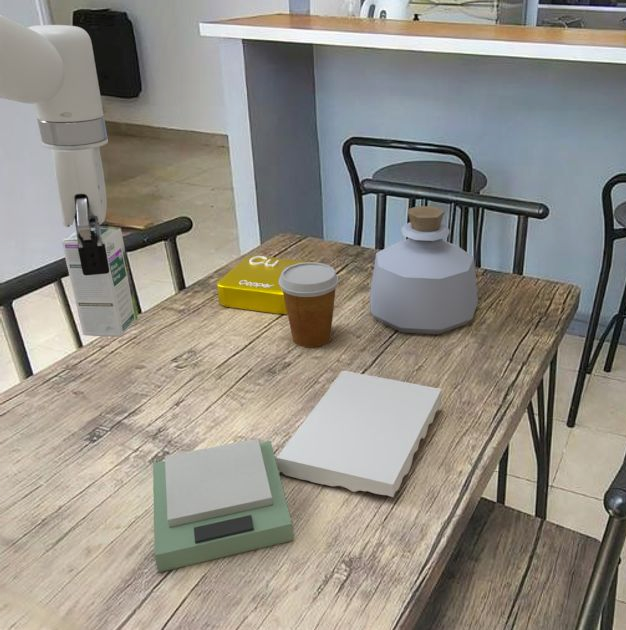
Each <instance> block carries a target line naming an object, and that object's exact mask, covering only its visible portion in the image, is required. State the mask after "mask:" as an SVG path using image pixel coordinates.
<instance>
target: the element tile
mask: <svg viewBox="0 0 626 630" xmlns="http://www.w3.org/2000/svg"><path fill="white" fill-rule="evenodd" d="M307 262H309V261H308V260H299V259H291V258H290V259H289V258H283V257H282V258H281V257H273V256H264V255H256V254H255V255H254V254H252V255H248V256H246V257H245V258H243V259H242V260H241V261H240V262H239V263H237V265H235V266H234V267H233V268H232V269H230V270H229V271H228V272H227V273H226V274H225V275H223V276H222V277H221V278H220V279H219V280H218V281H217V282H216V290H217V298H218V303H219V305H220V306H222V307H226V308H232V309H239V310H246V311H253V312H261V313H270V314H275V315H276V314H277V315H288V314H287V309H286V304H285V300H284V295H283V290H282V289H281V287H280V286H279V282H278V281H279V278H280V277H281V272H282V271H283V270H284V269H285V268H287V267H289V266H291V265H294V264H298V263H307Z"/></svg>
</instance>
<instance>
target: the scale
mask: <svg viewBox="0 0 626 630" xmlns="http://www.w3.org/2000/svg"><path fill="white" fill-rule="evenodd" d="M152 483H153V484H152V487H153V488H152V489H153V493H152V494H153V546H154V547H153V550H154V551H153V552H154V559H155V560H154V561H155V564H156V568H157V573H162V572H166V571H170V570H175V569H178V568H182V567H187V566H192V565H195V564H196V565H197V564H199V563H200V564H201V563H204V562H209V561H212V560H217V559H222V558H225V557H229V556H234V555H237V554H242V553H246V552H250V551H255V550H259V549H263V548H267V547H271V546H275V545H281V544H284V543H288V542H293V541H294V530H293V522H292V519H291V515H290V511H289V507H288V503H287V498H286V495H285V492H284V487H283V483H282V480H281V475H280V471H279V470H278V464H277V459H276V457H275V453H274V449H273V445H272V441H271V440H267V441H263V442H260V439H259V438H254V439H249V440H243V441H237V442H232V443H227V444H222V445H217V446H211V447H207V448H206V447H205V448H201V449H196V450H191V451H184V452H179V453H173V454H169V455H165V456H164V460H161V461H158V462H153V463H152Z"/></svg>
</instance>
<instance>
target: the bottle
mask: <svg viewBox="0 0 626 630" xmlns="http://www.w3.org/2000/svg"><path fill="white" fill-rule="evenodd" d="M445 212H446V210H443V209H441V208H439V207H436V206H434V205H433V206H432V205H430V206H428V205H421V206H420V205H416V206H413V207H410V208H408V211H407V216H408V218H409V222H407V223H405V224H404V225H403V226H402V227H401V228H400V230H401V236H402V237H406V238H407V239H403V240H400V241H397V242H395V243H392V244H390V245H389V246H387V247H385V248H383V249H381V250H379V251H377V252H375V258H374V265H373V272H372V276H371V277H372V278H371V284H370V289H369V290H370V291H369V295H368V296H369V304H370V311H371V315H372V316H373V318H375V319H376V320H377V321H378V322H379V323H382V324H384V325H385V326H388V327H390V328H392V329H394V330H396V331H398V332H400V333H402V334H421V335H441V334H444V333H447V332H449V331H452V330H455V329H457V328H460V327H463V326H466V325H467V324H469V322H471V321H472V320H473V317H474V315H475V312H476V309H477V306H478V304H479V296H478V286H477V285H478V284H477V275H476V265H475V256H473V255H471V253H469V252H467V251H465V249H463V248H462V247H460V246H459V245H457V244H454V243H451V242H449V241H446V240H444V239H446V238H448V237H449V235H450V233H451V230H450V229H449V227H448V226H447V225H445V224H444V223H442V221H443V218H444V215H445Z"/></svg>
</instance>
